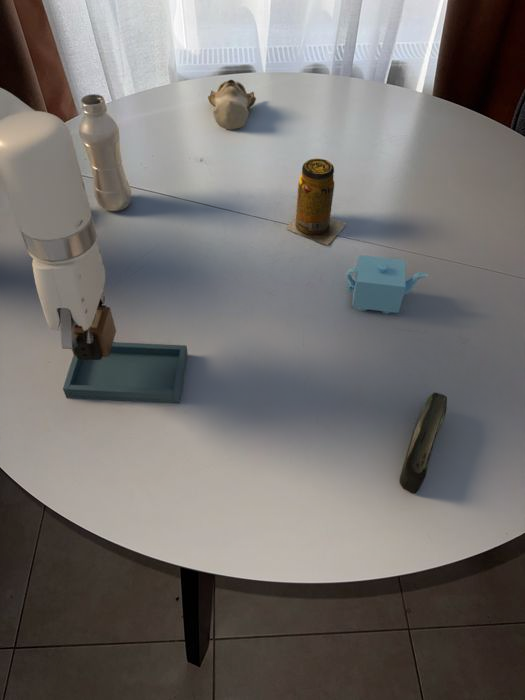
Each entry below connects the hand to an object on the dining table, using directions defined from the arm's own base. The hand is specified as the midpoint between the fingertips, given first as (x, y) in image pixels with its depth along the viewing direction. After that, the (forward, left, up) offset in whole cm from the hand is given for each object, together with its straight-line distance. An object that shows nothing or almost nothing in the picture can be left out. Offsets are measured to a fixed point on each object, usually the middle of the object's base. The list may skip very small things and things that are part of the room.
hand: (94, 341), depth 76 cm
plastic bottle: (-7, +39, -7) cm, 40 cm away
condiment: (+30, +35, -8) cm, 47 cm away
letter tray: (+3, 0, -7) cm, 8 cm away
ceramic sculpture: (+12, +72, -8) cm, 74 cm away
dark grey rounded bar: (+43, -9, -8) cm, 45 cm away
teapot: (+40, +17, -7) cm, 44 cm away
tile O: (0, 0, 0) cm, 0 cm away
